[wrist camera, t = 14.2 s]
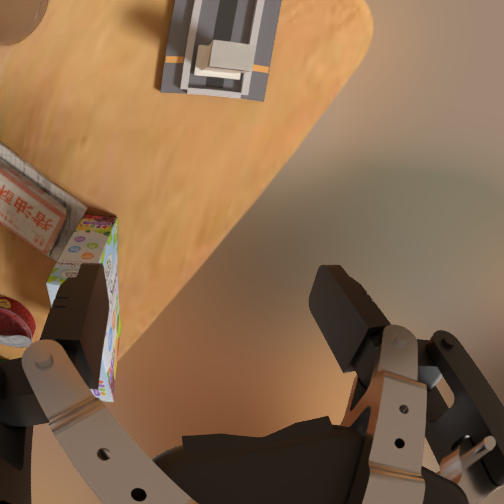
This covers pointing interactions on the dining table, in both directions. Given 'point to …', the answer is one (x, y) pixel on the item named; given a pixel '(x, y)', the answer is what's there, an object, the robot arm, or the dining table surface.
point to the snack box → (105, 251)
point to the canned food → (15, 323)
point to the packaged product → (36, 206)
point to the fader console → (224, 29)
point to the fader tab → (224, 59)
